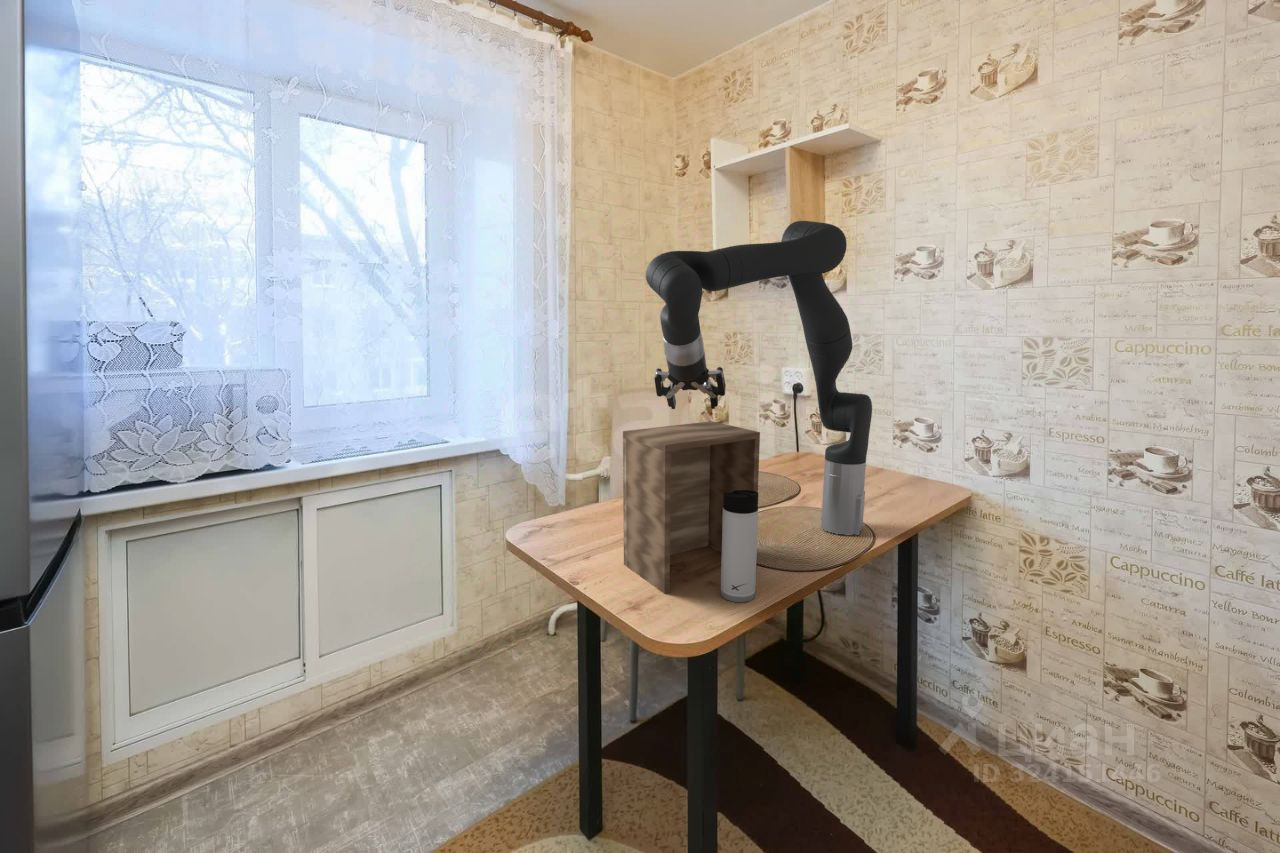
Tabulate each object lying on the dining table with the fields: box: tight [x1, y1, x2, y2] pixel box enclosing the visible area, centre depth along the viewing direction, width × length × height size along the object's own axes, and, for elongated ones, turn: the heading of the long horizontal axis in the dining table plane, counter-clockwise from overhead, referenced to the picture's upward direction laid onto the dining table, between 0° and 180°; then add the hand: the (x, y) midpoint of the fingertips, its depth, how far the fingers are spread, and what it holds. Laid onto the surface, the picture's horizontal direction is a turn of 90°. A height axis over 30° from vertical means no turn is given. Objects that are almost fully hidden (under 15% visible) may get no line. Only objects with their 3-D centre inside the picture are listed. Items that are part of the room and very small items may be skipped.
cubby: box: [622, 420, 761, 594], centre depth 114 cm, size 15×22×28 cm
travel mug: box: [720, 490, 759, 603], centre depth 102 cm, size 6×7×20 cm
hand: (693, 406), depth 121 cm, fingers open, 8 cm apart
